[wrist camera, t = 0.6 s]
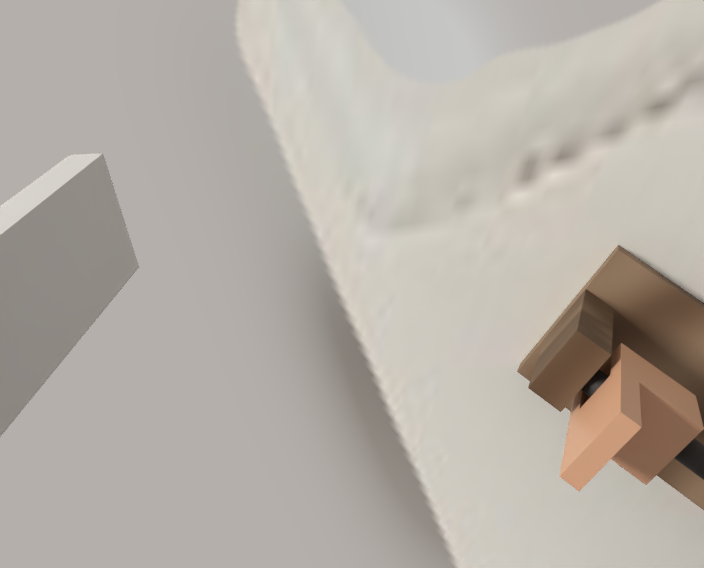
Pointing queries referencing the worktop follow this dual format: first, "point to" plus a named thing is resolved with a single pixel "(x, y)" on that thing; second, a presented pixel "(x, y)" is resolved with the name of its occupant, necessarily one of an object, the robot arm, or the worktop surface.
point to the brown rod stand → (638, 335)
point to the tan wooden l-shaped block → (629, 421)
